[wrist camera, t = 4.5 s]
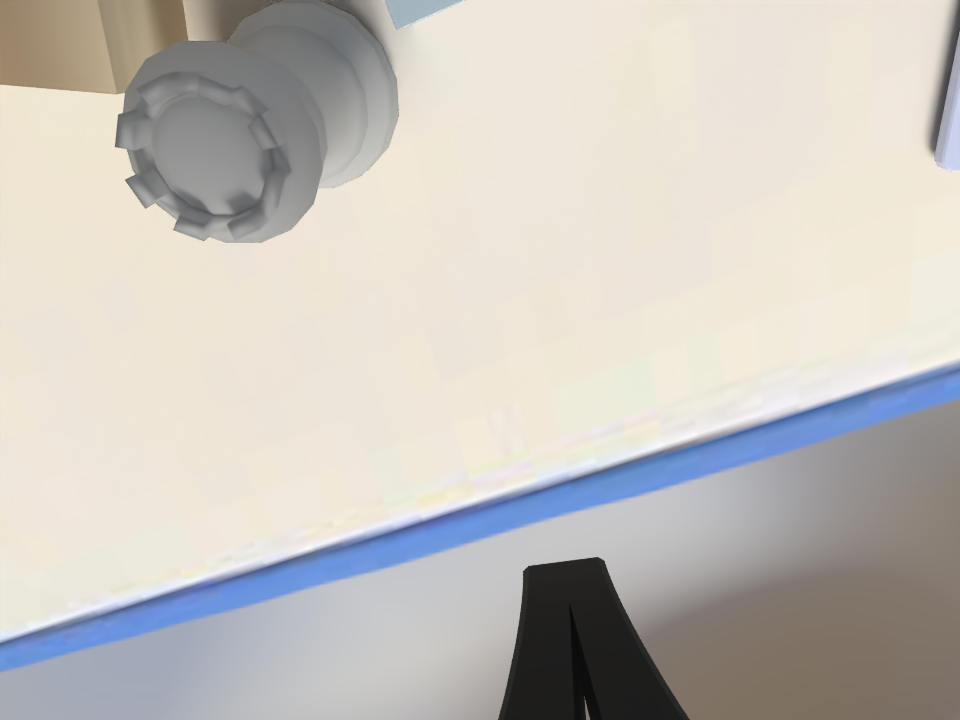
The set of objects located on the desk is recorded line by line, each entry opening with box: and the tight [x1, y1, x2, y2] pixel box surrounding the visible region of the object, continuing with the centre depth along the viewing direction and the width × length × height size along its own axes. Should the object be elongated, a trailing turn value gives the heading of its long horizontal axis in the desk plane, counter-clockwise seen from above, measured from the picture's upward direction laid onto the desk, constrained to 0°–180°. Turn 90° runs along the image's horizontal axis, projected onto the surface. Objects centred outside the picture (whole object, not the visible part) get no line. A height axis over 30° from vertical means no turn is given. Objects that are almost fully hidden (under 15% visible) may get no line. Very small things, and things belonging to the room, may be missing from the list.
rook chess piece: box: [115, 0, 399, 243], centre depth 13 cm, size 4×4×8 cm
